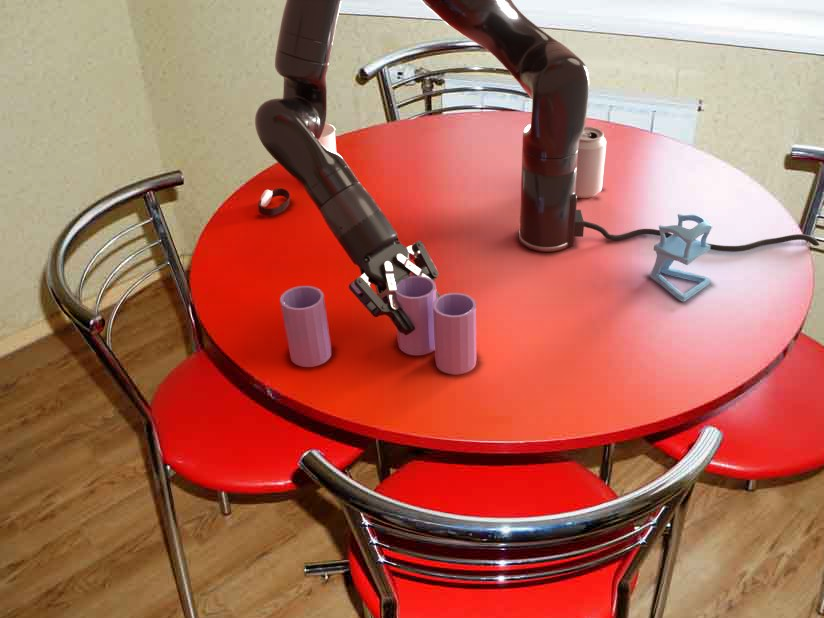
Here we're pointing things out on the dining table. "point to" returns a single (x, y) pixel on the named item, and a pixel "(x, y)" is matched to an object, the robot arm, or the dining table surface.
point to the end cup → (306, 325)
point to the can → (590, 163)
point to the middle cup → (417, 314)
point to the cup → (455, 333)
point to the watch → (267, 198)
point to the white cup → (328, 137)
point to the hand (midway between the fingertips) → (425, 321)
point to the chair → (681, 253)
